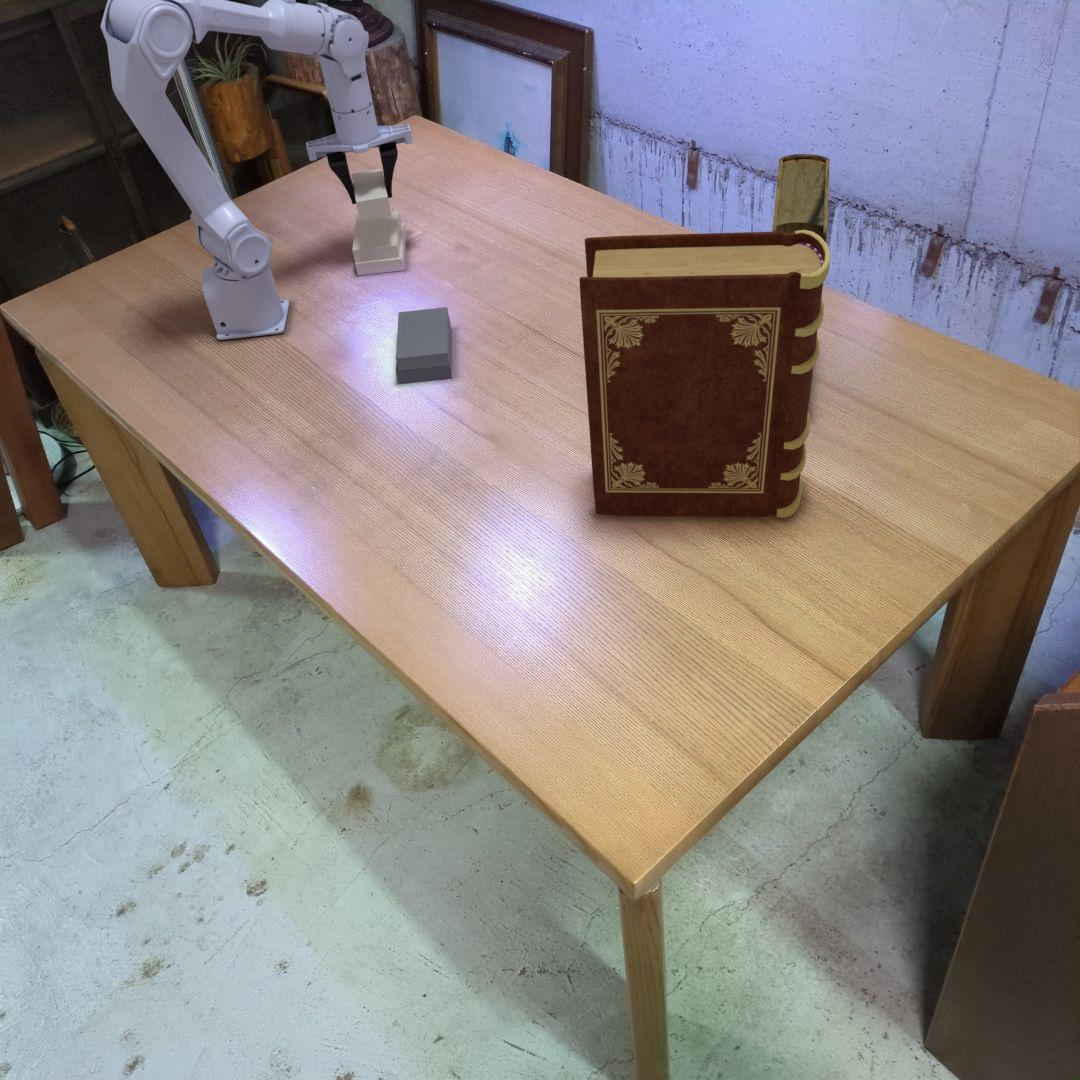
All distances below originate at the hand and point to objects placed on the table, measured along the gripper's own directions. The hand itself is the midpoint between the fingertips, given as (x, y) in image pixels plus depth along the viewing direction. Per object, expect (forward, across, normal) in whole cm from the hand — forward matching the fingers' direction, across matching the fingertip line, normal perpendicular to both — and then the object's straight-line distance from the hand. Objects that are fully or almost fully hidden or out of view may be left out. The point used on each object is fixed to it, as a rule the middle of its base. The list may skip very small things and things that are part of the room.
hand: (371, 197), depth 153 cm
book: (+10, +46, -46) cm, 66 cm away
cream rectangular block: (+1, 0, 0) cm, 1 cm away
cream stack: (+10, 0, +2) cm, 10 cm away
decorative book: (+10, +29, -63) cm, 70 cm away
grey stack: (+10, +3, -27) cm, 29 cm away
